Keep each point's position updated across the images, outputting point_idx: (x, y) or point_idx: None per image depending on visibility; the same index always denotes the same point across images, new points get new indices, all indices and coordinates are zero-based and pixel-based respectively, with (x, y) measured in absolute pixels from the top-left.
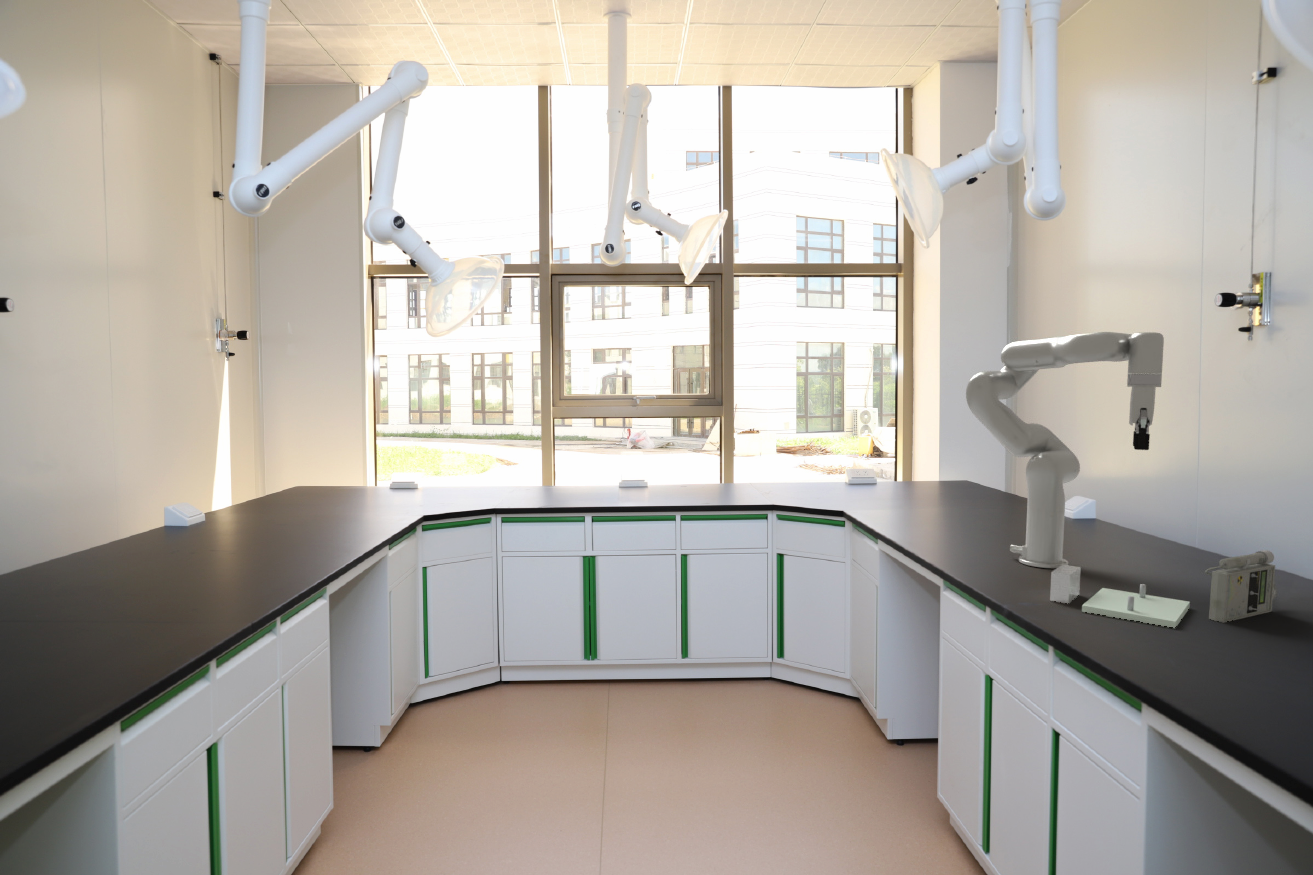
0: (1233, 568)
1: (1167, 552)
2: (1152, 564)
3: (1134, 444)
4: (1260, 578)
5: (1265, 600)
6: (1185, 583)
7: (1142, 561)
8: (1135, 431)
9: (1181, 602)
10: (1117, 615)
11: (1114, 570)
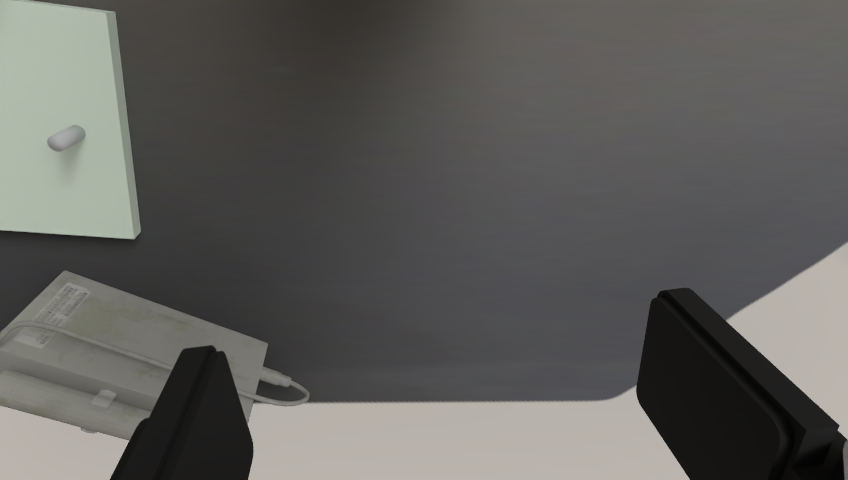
0: (87, 382)
1: (843, 153)
2: (648, 124)
3: (167, 386)
4: None
5: None
6: (432, 212)
7: (683, 95)
8: (799, 447)
9: (107, 222)
10: None
11: (501, 22)
